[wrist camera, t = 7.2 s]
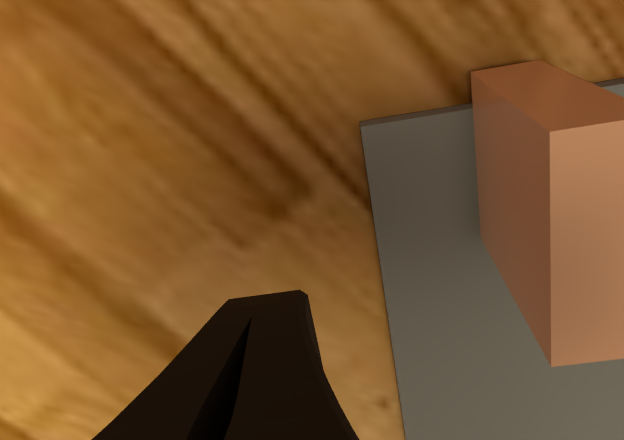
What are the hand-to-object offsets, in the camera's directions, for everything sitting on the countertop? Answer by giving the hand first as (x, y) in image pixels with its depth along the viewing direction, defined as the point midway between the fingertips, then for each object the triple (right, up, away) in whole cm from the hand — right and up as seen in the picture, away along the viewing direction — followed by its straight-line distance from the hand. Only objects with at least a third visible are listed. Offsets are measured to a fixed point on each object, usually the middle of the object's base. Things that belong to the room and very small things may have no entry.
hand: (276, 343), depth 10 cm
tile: (+6, +4, +6) cm, 10 cm away
